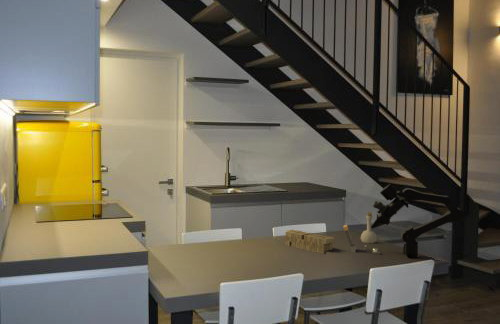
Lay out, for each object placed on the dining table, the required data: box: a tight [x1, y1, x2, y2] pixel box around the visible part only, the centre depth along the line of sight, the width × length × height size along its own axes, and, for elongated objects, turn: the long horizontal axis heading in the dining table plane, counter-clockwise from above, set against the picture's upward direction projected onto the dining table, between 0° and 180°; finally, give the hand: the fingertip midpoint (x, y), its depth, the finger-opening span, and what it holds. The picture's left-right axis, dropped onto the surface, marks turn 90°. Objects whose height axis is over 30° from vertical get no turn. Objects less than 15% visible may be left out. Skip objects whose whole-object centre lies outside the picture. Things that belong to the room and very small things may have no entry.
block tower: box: [284, 229, 336, 254], centre depth 278 cm, size 8×8×29 cm
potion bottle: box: [360, 211, 378, 244], centre depth 292 cm, size 9×9×18 cm
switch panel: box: [349, 243, 381, 256], centre depth 268 cm, size 20×13×4 cm, turn 80°
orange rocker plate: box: [343, 224, 356, 247], centre depth 269 cm, size 2×5×13 cm, turn 169°
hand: (371, 227), depth 267 cm, fingers closed
